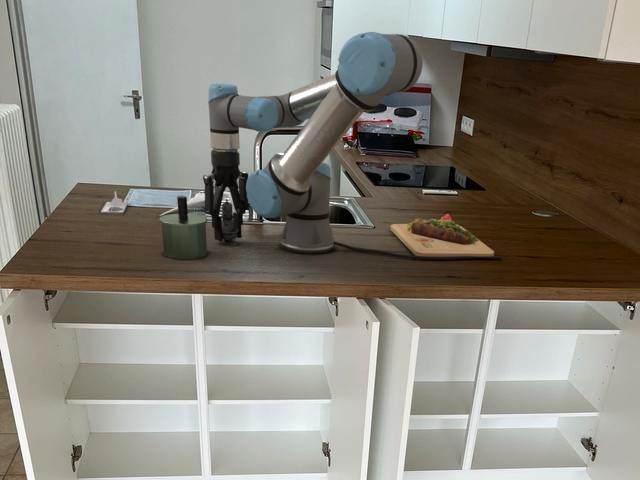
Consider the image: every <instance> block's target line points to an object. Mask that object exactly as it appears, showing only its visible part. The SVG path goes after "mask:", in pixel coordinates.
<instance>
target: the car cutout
mask: <svg viewBox="0 0 640 480" xmlns="http://www.w3.org/2000/svg"><path fill="white" fill-rule="evenodd" d="M128 205H129V202H127V201H123V199H121V198H118V194H117V191H116V190H114V198H112V199H111V201H106V202H105V204H104V206H103V207H102V209H101V210H100V214H111V215H113V214H114V215H117V214H118V215H122V214H123V215H124V213H125V210H126V209H127V207H128Z"/></svg>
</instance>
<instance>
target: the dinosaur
mask: <svg viewBox="0 0 640 480" xmlns="http://www.w3.org/2000/svg"><path fill="white" fill-rule="evenodd" d="M226 199H227V200H228V199H229V200H228V202H229V203H231V204H232V212H233V213H234V212H236V211H235V208H234V204H233V201H232V197H231V193H230V191H226V190H225V191H224V193H223V198H222V200H226ZM190 208H197V209H199V208H205V193H201V192H199V193H195V195H194V197H191V198H189V200H187V209H190ZM174 212H178V206H177V207H174V208H172V209H170V210H167V211H165V212H163V213H161V214H159V217H162V216H165V215H169V214H171V213H174Z"/></svg>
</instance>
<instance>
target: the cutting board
mask: <svg viewBox="0 0 640 480" xmlns="http://www.w3.org/2000/svg"><path fill="white" fill-rule="evenodd" d="M389 228H390V231H391V232H392V233H393V234H394V235H395V236H396V237H397V238H398V239H399V240H400V241H401V242H402V243H403V244H404V245H405V246H406V248H408V250H409V251H410V252H411V253H412V255H413V256H429V257H447V256H495V251H494V250H493V249H492V248H490V247H489V246H487V245H486V244H485V243H483V242H482V241H481V240H480V239H479V238H478V237H477V236H475V235H473V234H472V233H471V232H470V231H469V230H468V229H465V228H464V227H463V226H461V225H459V224H457V223H456V222H455V221H453V220H452V216H451V215H450V214H449V213H446V214H445V215H443V216H441V218H440V219H437V218H435V219H434V218H430V219H427V220H426V219H422V218H420V217H417V218H415V219H414V220H413V221H412V222H409V223H392V224H391V225H390V227H389Z"/></svg>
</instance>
